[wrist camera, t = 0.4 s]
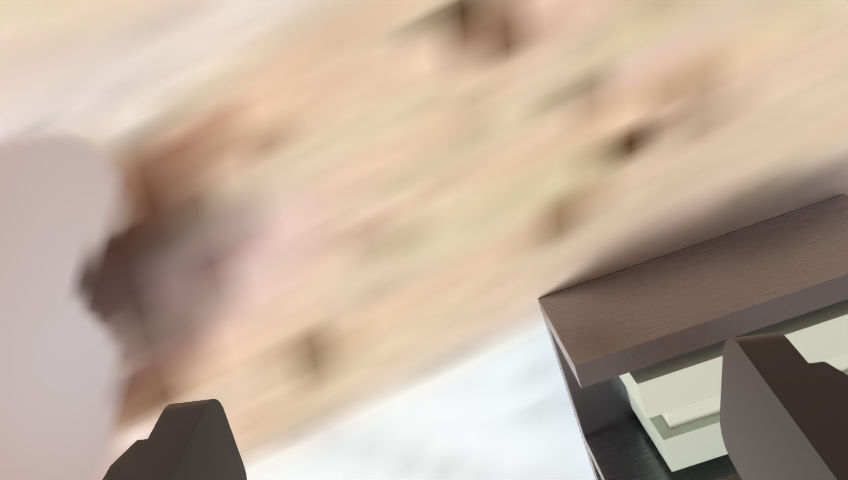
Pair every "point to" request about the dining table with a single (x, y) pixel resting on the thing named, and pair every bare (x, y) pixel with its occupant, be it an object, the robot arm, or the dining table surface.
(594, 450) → the sheet rack
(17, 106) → the dining table surface
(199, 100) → the dining table surface
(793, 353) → the robot arm
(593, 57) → the dining table surface
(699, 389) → the pale green grooved block
